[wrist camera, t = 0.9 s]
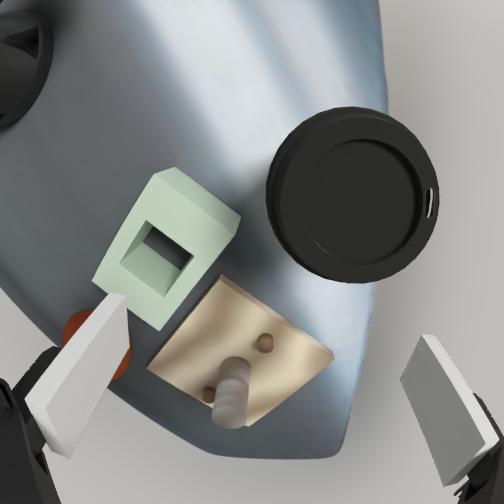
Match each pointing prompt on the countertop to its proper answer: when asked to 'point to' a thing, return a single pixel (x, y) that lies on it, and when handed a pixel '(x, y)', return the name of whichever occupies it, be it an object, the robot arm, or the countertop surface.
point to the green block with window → (175, 227)
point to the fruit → (73, 327)
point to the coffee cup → (352, 195)
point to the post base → (238, 356)
